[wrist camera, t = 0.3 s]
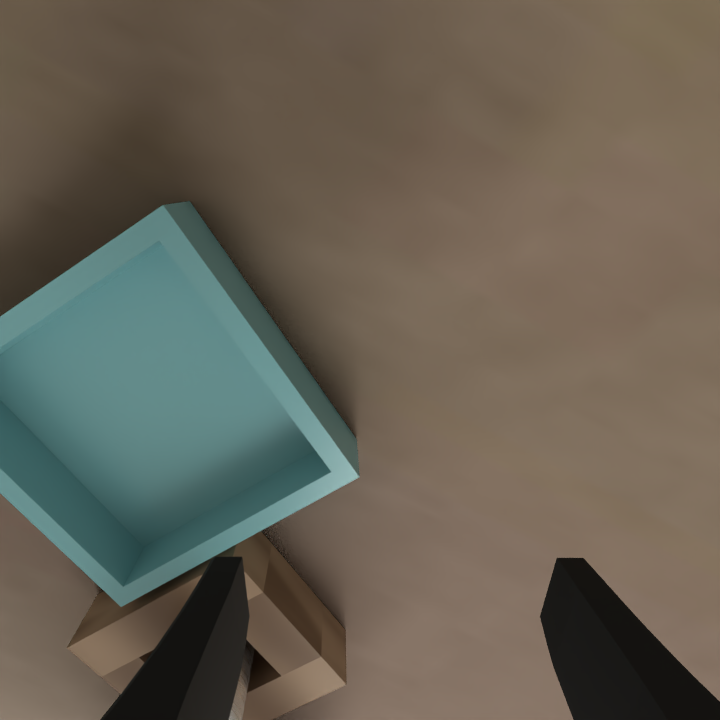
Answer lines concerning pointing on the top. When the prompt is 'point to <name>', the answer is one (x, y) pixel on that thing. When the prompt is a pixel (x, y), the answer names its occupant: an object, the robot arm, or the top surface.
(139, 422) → the tray
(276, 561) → the hole block
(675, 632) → the top surface
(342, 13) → the top surface
